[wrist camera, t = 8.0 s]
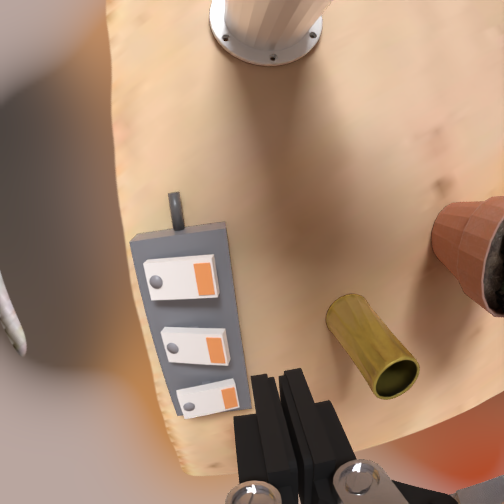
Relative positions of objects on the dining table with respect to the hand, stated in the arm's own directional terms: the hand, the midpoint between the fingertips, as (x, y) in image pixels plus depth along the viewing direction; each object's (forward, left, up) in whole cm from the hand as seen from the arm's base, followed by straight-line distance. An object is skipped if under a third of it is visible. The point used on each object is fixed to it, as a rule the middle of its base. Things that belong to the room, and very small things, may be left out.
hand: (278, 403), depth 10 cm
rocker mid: (+11, -6, -22) cm, 25 cm away
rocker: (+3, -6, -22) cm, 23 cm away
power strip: (+9, -6, -27) cm, 29 cm away
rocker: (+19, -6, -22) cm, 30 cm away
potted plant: (+4, +30, -27) cm, 41 cm away
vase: (+13, +13, -27) cm, 33 cm away
